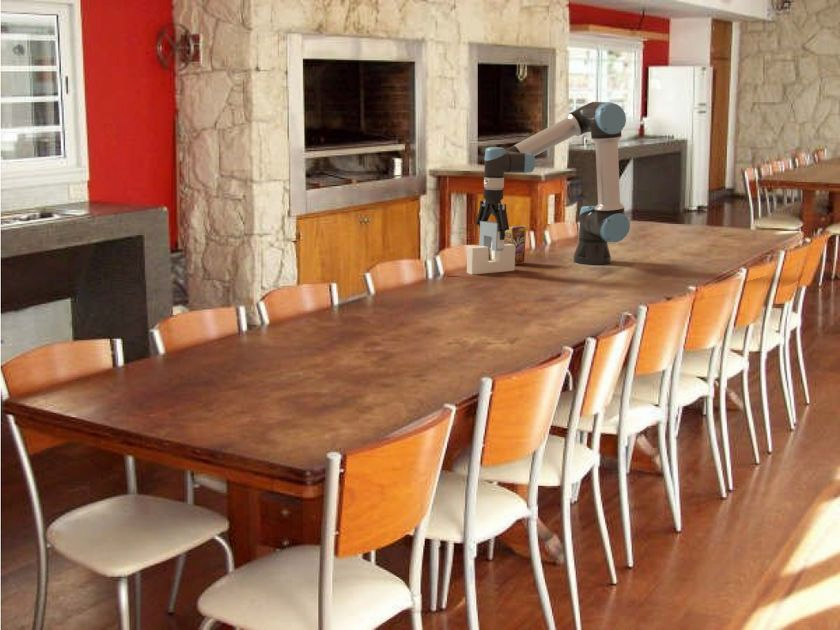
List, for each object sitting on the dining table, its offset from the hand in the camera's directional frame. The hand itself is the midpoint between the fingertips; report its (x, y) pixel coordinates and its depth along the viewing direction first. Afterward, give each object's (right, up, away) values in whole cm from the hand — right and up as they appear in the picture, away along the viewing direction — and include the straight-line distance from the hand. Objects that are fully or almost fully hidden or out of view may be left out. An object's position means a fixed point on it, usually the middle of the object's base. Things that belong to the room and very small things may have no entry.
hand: (491, 246), depth 417 cm
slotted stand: (0, -10, +2) cm, 10 cm away
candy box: (+10, -6, +21) cm, 24 cm away
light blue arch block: (0, -1, 0) cm, 1 cm away
